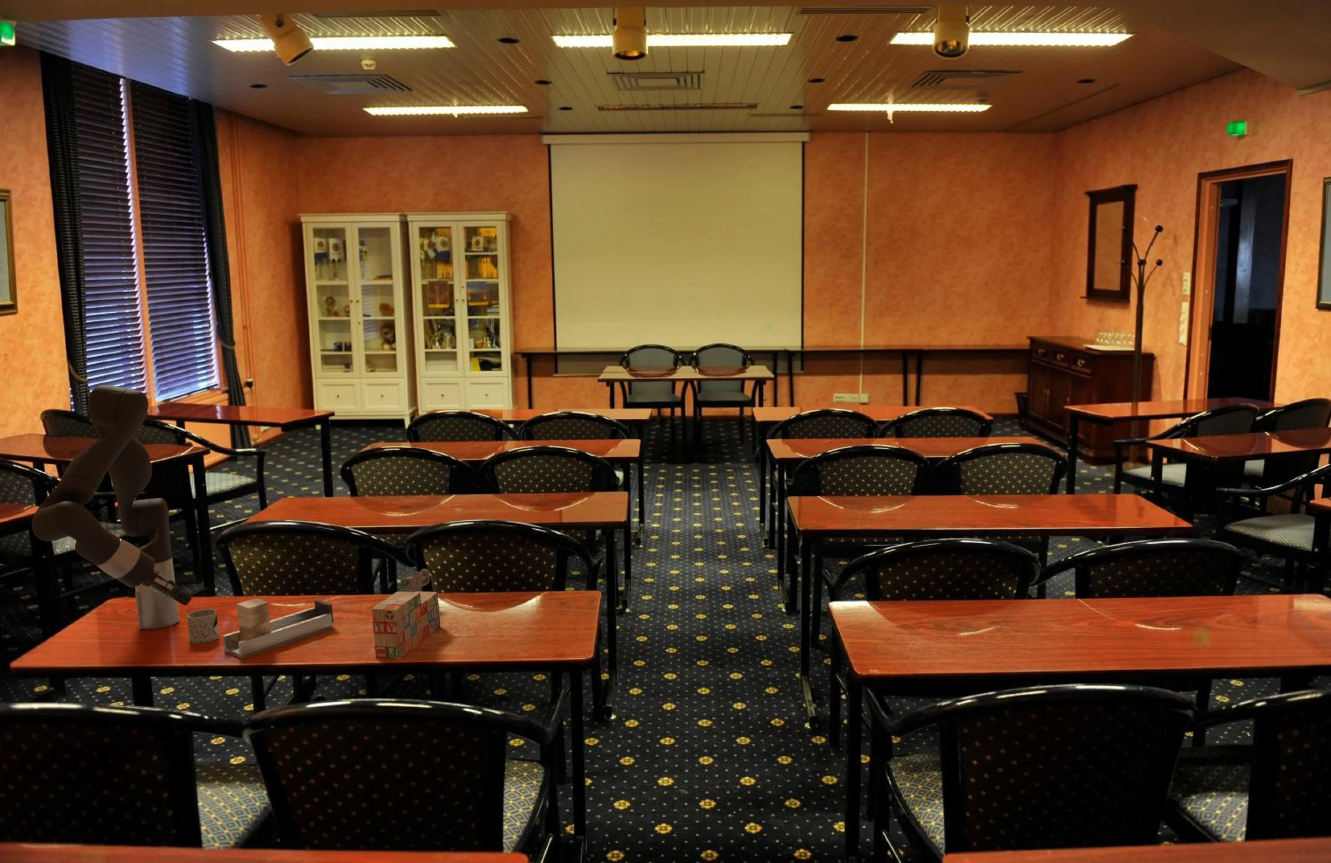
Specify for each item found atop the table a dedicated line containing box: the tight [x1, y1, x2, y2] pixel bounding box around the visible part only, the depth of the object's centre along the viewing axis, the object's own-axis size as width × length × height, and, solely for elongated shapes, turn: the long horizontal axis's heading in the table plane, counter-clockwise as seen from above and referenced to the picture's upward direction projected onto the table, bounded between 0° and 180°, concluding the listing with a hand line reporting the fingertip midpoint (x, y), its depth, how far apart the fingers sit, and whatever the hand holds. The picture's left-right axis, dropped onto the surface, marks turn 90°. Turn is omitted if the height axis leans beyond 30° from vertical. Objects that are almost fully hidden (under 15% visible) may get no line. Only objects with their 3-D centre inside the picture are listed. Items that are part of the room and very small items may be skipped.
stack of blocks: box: [371, 591, 441, 659], centre depth 236 cm, size 21×6×12 cm, turn 167°
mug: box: [186, 608, 220, 645], centre depth 244 cm, size 10×7×7 cm
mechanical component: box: [401, 568, 431, 592], centre depth 259 cm, size 3×10×10 cm, turn 161°
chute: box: [222, 599, 334, 660], centre depth 240 cm, size 25×8×6 cm, turn 141°
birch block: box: [236, 598, 271, 641], centre depth 235 cm, size 5×6×10 cm
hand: (187, 601), depth 221 cm, fingers closed
